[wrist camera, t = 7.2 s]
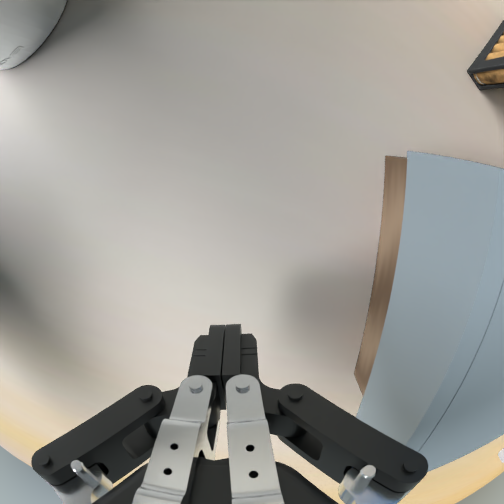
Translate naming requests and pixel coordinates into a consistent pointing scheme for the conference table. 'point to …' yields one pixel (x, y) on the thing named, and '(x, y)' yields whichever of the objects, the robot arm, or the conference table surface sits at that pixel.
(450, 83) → the conference table surface
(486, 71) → the ammunition clip
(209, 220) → the conference table surface
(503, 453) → the charger
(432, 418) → the box lid
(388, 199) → the walnut box
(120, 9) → the conference table surface
